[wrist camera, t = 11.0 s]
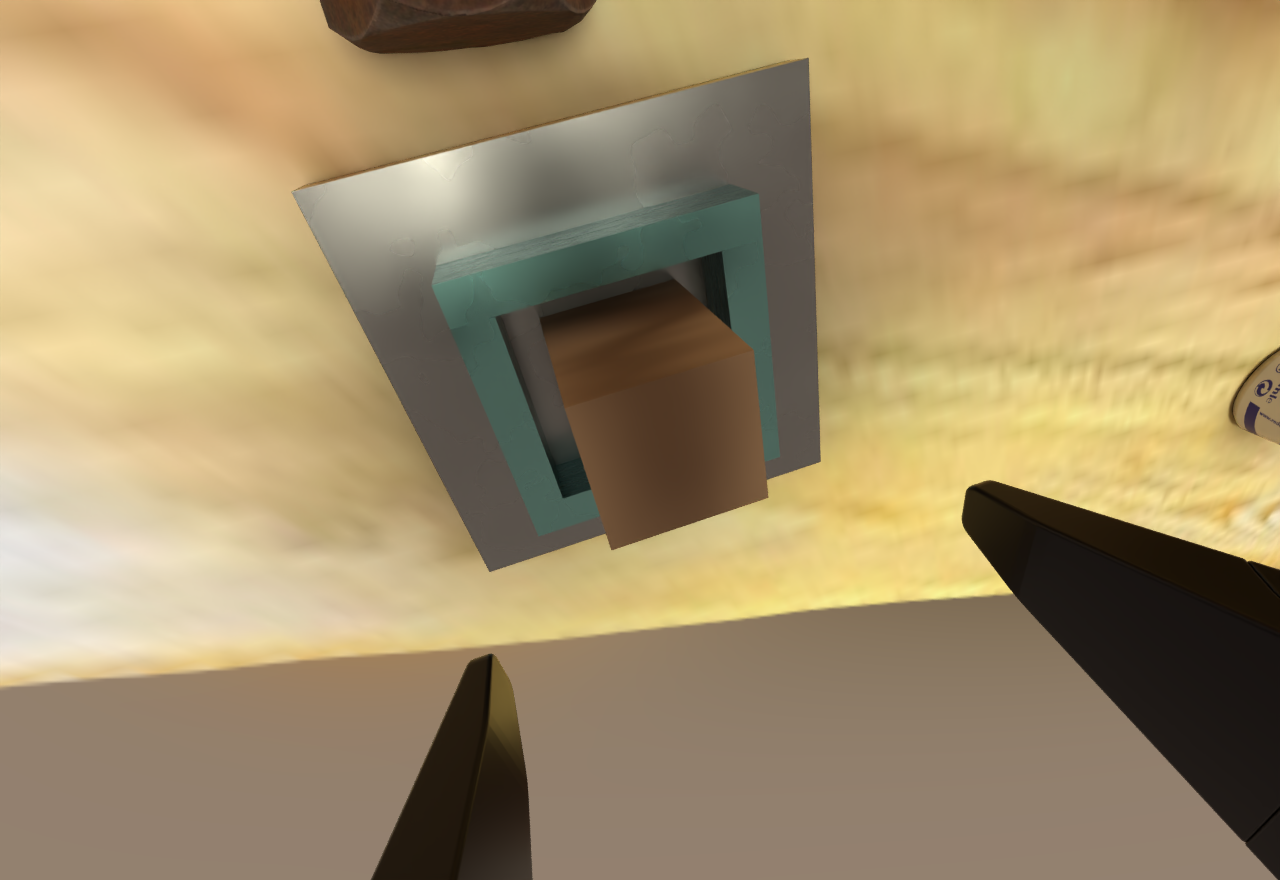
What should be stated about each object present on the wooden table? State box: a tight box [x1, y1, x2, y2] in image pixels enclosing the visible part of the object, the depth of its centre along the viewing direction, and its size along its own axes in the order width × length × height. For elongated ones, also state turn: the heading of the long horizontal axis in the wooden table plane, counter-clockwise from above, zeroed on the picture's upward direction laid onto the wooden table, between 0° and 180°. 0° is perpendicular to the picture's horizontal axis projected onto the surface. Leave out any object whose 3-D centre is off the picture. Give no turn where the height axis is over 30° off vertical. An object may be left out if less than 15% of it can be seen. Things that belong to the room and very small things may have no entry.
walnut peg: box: [539, 279, 768, 550], centre depth 16 cm, size 4×4×6 cm
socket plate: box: [292, 58, 821, 572], centre depth 18 cm, size 14×14×3 cm
